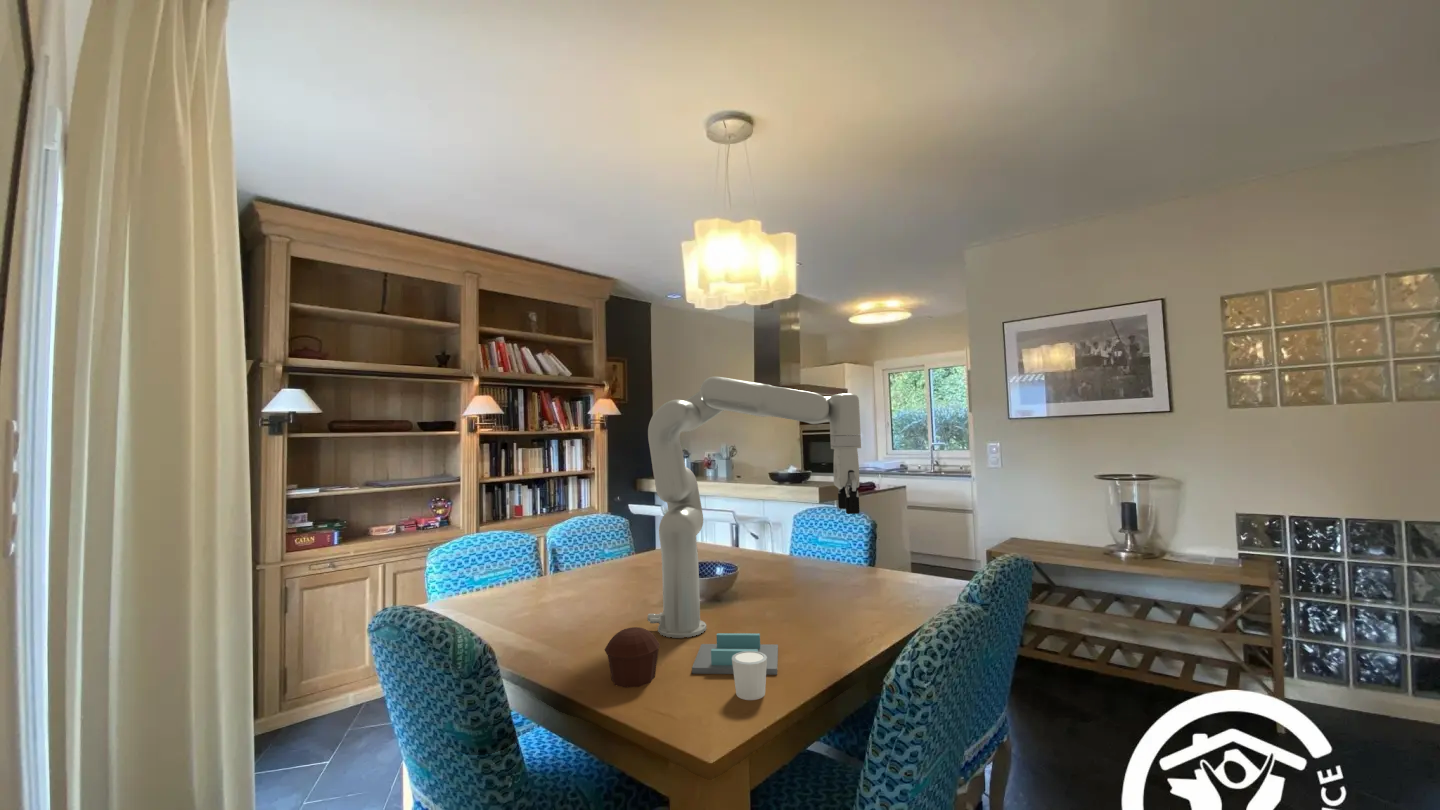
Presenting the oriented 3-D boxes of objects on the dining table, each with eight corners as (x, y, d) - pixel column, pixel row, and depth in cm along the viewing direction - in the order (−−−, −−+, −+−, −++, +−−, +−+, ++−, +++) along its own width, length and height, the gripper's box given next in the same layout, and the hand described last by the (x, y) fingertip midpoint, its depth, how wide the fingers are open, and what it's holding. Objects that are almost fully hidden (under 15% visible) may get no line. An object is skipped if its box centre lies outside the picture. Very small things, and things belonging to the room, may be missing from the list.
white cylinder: (769, 701, 109) (768, 663, 109) (733, 702, 109) (731, 664, 109) (767, 685, 116) (765, 649, 116) (732, 686, 116) (731, 650, 116)
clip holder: (692, 673, 123) (691, 653, 123) (701, 649, 137) (701, 631, 137) (777, 674, 121) (776, 654, 121) (778, 649, 135) (777, 631, 135)
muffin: (630, 664, 129) (629, 618, 129) (671, 673, 123) (669, 625, 124) (593, 684, 119) (592, 635, 119) (636, 695, 113) (634, 643, 114)
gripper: (825, 442, 155) (828, 507, 154) (836, 443, 137) (840, 516, 136) (853, 442, 155) (856, 506, 154) (868, 442, 137) (872, 515, 136)
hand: (848, 511), depth 145 cm, fingers open, 9 cm apart
